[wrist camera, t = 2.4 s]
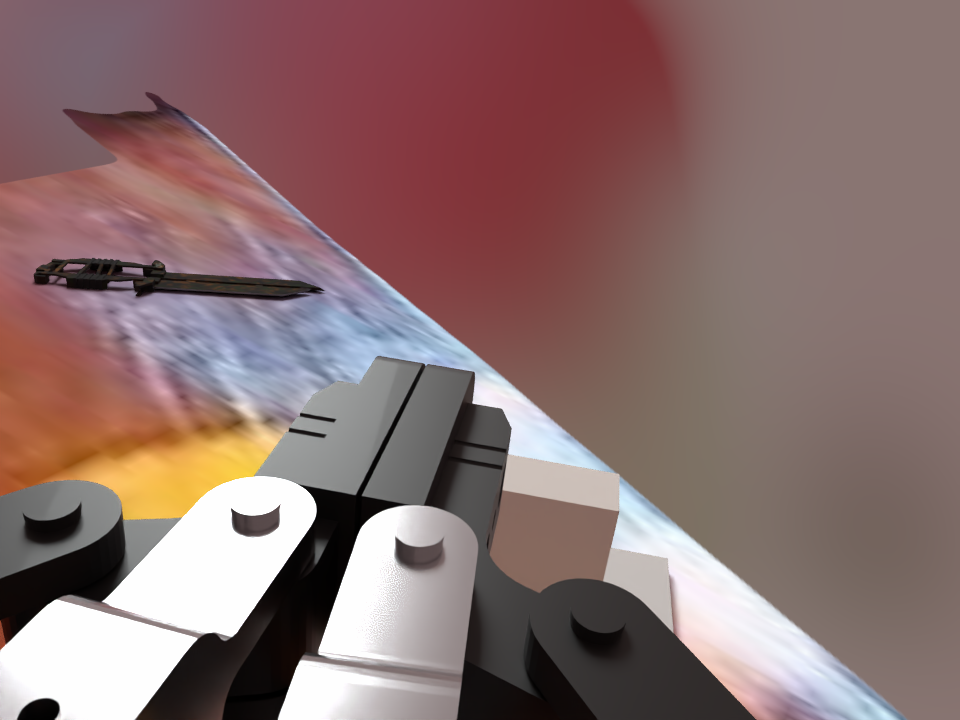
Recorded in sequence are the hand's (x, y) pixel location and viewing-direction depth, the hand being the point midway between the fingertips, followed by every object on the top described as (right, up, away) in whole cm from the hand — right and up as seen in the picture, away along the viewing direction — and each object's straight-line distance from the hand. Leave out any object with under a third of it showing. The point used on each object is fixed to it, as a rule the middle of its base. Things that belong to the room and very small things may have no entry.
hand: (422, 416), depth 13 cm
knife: (-27, +8, +63) cm, 69 cm away
